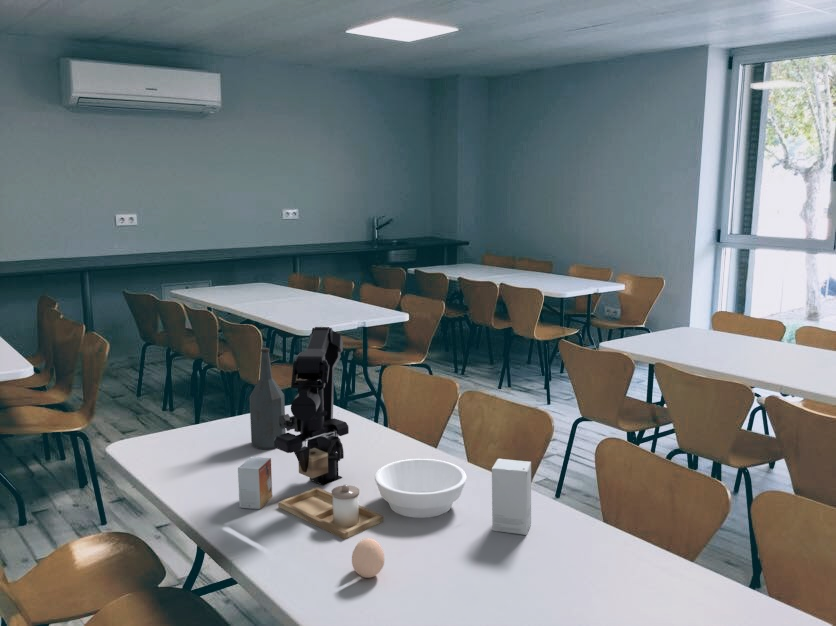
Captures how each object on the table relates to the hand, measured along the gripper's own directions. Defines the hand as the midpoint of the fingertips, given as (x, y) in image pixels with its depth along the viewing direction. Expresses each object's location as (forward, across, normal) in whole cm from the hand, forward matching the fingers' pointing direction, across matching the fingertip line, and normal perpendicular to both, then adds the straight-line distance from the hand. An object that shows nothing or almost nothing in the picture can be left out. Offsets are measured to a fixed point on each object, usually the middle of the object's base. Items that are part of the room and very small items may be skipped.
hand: (313, 468), depth 178 cm
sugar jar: (+10, 0, +12) cm, 15 cm away
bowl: (+11, -19, +18) cm, 28 cm away
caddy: (+11, 0, +6) cm, 12 cm away
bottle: (+11, -20, -46) cm, 52 cm away
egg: (+11, +12, +32) cm, 36 cm away
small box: (+11, +7, -14) cm, 19 cm away
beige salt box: (+1, 0, 0) cm, 1 cm away
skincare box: (+11, -25, +41) cm, 49 cm away
